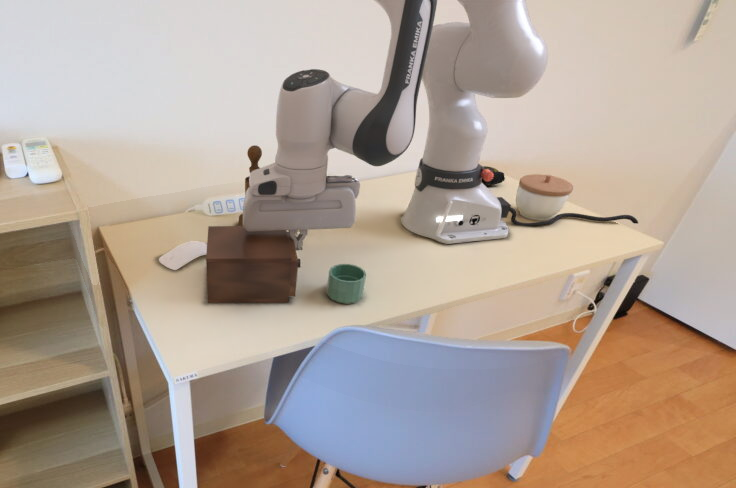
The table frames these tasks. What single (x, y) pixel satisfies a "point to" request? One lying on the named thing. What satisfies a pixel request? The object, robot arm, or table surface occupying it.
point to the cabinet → (247, 265)
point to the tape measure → (496, 179)
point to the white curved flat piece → (183, 254)
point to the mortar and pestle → (251, 169)
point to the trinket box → (542, 196)
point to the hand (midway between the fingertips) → (296, 249)
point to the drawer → (293, 266)
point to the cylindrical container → (346, 283)
